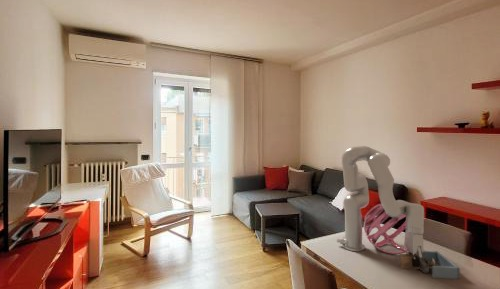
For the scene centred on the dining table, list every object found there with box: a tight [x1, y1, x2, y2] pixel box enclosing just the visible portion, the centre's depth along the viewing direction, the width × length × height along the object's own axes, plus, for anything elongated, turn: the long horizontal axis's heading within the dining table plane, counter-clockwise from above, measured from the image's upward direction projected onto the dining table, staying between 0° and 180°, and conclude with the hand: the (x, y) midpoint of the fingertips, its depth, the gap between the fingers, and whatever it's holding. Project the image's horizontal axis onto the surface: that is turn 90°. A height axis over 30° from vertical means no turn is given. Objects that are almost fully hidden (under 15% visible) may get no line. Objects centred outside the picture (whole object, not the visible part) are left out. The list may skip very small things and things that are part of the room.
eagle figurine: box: [422, 257, 436, 269], centre depth 129 cm, size 8×7×9 cm
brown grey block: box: [399, 253, 430, 274], centre depth 133 cm, size 10×11×6 cm
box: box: [417, 250, 461, 280], centre depth 131 cm, size 11×17×5 cm, turn 173°
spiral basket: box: [363, 203, 408, 255], centre depth 152 cm, size 28×28×27 cm
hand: (413, 264), depth 133 cm, fingers closed on brown grey block, 3 cm apart
